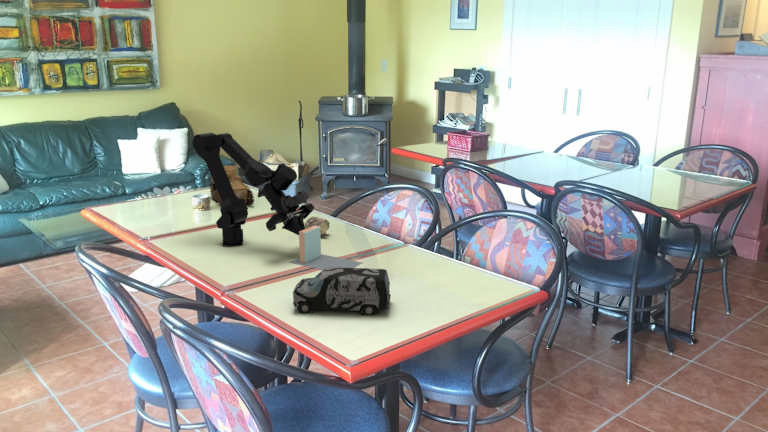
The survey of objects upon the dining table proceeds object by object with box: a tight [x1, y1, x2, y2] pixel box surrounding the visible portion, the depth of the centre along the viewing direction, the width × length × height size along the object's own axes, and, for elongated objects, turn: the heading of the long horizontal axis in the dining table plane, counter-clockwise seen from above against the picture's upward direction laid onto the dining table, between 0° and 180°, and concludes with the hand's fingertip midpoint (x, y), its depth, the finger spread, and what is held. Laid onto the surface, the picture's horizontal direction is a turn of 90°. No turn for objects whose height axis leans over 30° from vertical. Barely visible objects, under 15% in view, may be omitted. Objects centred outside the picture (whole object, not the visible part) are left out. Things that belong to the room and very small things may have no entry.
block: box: [298, 226, 322, 263], centre depth 200 cm, size 2×8×10 cm, turn 149°
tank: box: [209, 165, 255, 206], centre depth 273 cm, size 13×27×15 cm, turn 28°
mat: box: [288, 253, 363, 271], centre depth 199 cm, size 20×12×1 cm, turn 59°
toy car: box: [292, 267, 392, 317], centre depth 165 cm, size 11×25×10 cm, turn 86°
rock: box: [304, 216, 330, 237], centre depth 228 cm, size 7×11×10 cm
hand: (306, 237), depth 201 cm, fingers closed, pressing on block
